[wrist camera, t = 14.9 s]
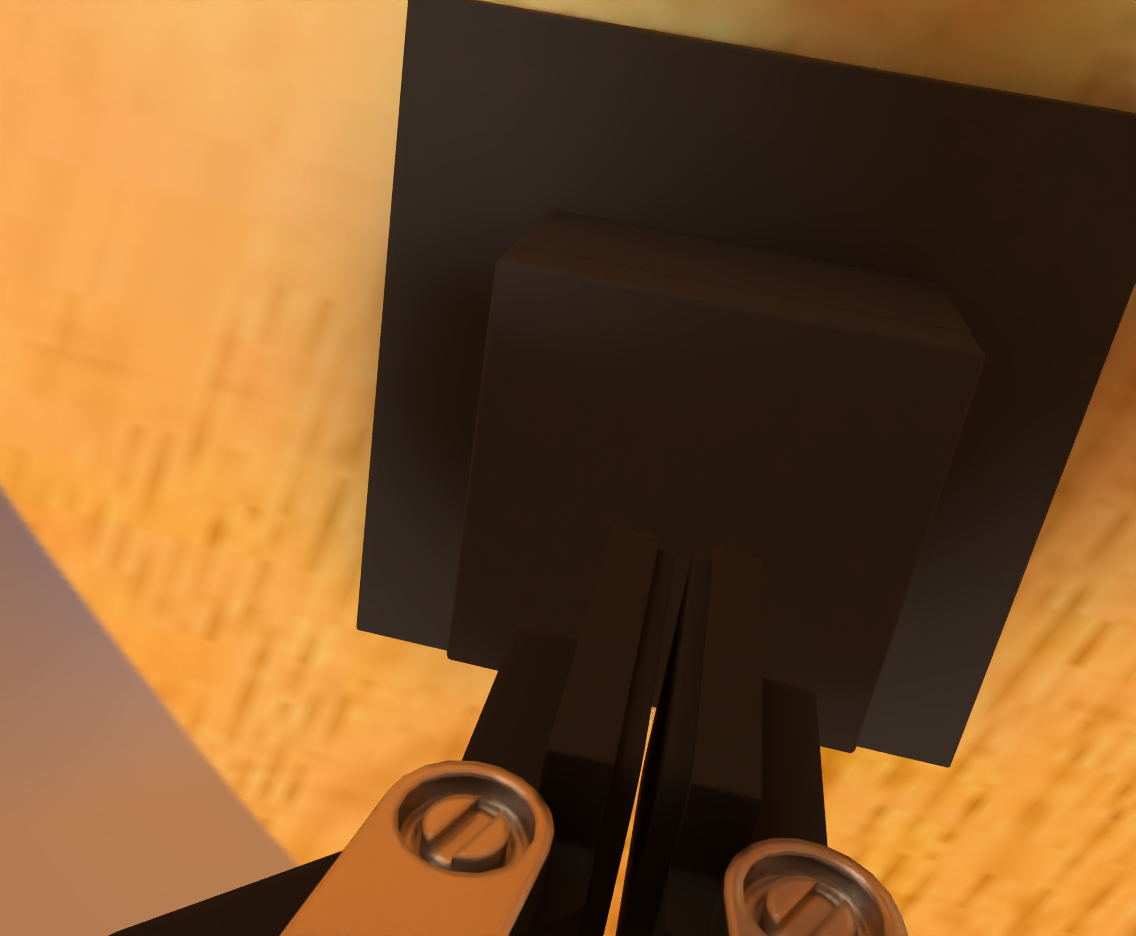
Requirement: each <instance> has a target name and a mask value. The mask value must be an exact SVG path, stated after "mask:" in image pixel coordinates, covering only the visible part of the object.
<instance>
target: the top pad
mask: <svg viewBox="0 0 1136 936" xmlns="http://www.w3.org/2000/svg"><path fill="white" fill-rule="evenodd" d="M984 361H985V355H984V353H983V351H982V350H981V348H980V347H979V345H978V344H977V342H976V340H975V339H974V337H973V336H972V333H971V331H970V330H969V328H968V327H967V325H966V324H965V322H964V321H963V319H962V317H961V316H960V314H959V313H958V311H957V310H956V308H955V306H954V305H953V303H952V302H951V300H950V299H949V297H948V295H947V294H946V292H945V291H944V289H943V288H942V286H941V284H939V283H936V282H931V281H926V280H920V279H915V278H910V277H905V276H899V275H894V274H889V273H884V272H878V271H873V270H868V269H862V268H857V267H852V266H847V265H841V264H836V263H831V262H826V261H820V260H815V259H810V258H805V257H799V256H794V255H789V254H783V253H778V252H773V251H768V250H762V249H757V248H752V247H747V246H741V245H736V244H731V243H726V242H720V241H715V240H710V239H704V238H699V237H694V236H689V235H683V234H678V233H673V232H668V231H662V230H657V229H652V228H647V227H641V226H636V225H631V224H625V223H620V222H615V221H610V220H604V219H599V218H594V217H589V216H583V215H578V214H573V213H568V212H562V211H557V210H553V211H551V212H550V213H549V214H548V215H547V216H546V217H545V218H544V219H542V220H541V221H540V222H539V223H538V224H537V225H536V226H535V227H533V228H532V229H531V230H530V231H529V232H528V233H527V234H526V235H525V236H523V237H522V238H521V239H520V240H519V241H518V242H517V243H516V244H514V246H513V247H512V248H511V249H510V250H509V251H507V252H506V253H505V254H504V255H503V256H502V257H501V258H500V259H498V261H497V263H496V267H495V275H494V283H493V291H492V299H491V307H490V315H489V323H488V331H487V339H486V347H485V355H484V363H483V371H482V379H481V387H480V394H479V402H478V410H477V418H476V426H475V434H474V442H473V450H472V458H471V466H470V474H469V482H468V490H467V498H466V506H465V514H464V521H463V529H462V537H461V545H460V553H459V561H458V569H457V577H456V585H455V593H454V601H453V609H452V617H451V625H450V633H449V641H448V648H447V656H448V658H449V659H451V660H455V661H459V662H463V663H468V664H472V665H476V666H480V667H485V668H489V669H493V670H498V671H499V668H500V666H501V663H502V661H503V658H504V656H505V654H506V651H507V649H508V646H509V644H510V641H511V639H512V636H513V634H514V631H515V629H516V627H517V625H518V624H519V623H525V624H529V625H534V626H538V627H543V628H547V629H552V630H556V631H560V632H565V633H569V634H574V635H578V636H580V635H581V631H582V628H583V624H584V621H585V618H586V614H587V611H588V608H589V604H590V601H591V598H592V594H593V591H594V588H595V584H596V581H597V578H598V574H599V571H600V568H601V564H602V561H603V558H604V554H605V551H606V547H607V544H608V541H609V537H610V534H611V531H612V528H613V527H617V528H622V529H627V530H631V531H636V532H640V533H645V534H650V535H654V536H659V537H660V540H659V545H658V549H659V550H663V551H668V552H672V553H677V554H676V560H675V567H674V573H673V579H672V585H671V591H670V597H669V603H668V609H667V615H666V622H665V628H664V634H663V640H662V646H661V652H660V658H659V664H658V670H657V676H656V683H655V689H654V695H653V701H652V707H655V708H657V704H658V699H659V695H660V691H661V686H662V682H663V678H664V673H665V669H666V665H667V660H668V656H669V652H670V647H671V643H672V639H673V634H674V630H675V626H676V621H677V617H678V613H679V608H680V604H681V600H682V595H683V591H684V587H685V582H686V578H687V574H688V569H689V565H690V561H691V558H692V557H695V558H700V559H705V560H709V561H710V557H711V553H712V550H713V548H714V549H719V550H724V551H728V552H733V553H737V554H742V555H747V556H751V557H756V558H760V559H762V562H763V598H762V677H763V678H767V679H772V680H776V681H781V682H785V683H789V684H794V685H798V686H803V687H807V688H811V689H813V690H814V691H815V696H816V703H817V716H818V729H819V742H820V746H822V747H826V748H830V749H835V750H839V751H843V752H848V753H853V752H854V750H855V749H856V746H857V743H858V740H859V737H860V734H861V731H862V728H863V725H864V722H865V719H866V716H867V713H868V710H869V707H870V704H871V701H872V698H873V695H874V692H875V689H876V686H877V683H878V680H879V677H880V674H881V671H882V668H883V665H884V662H885V659H886V656H887V653H888V650H889V647H890V644H891V641H892V638H893V635H894V632H895V629H896V626H897V623H898V620H899V617H900V614H901V611H902V608H903V605H904V602H905V599H906V596H907V593H908V590H909V587H910V584H911V581H912V578H913V575H914V572H915V569H916V566H917V563H918V559H919V556H920V553H921V550H922V547H923V544H924V541H925V538H926V535H927V532H928V529H929V526H930V523H931V520H932V517H933V514H934V511H935V508H936V505H937V502H938V499H939V496H940V493H941V490H942V487H943V484H944V481H945V478H946V475H947V472H948V469H949V466H950V463H951V460H952V457H953V454H954V451H955V448H956V445H957V442H958V439H959V436H960V433H961V430H962V427H963V424H964V421H965V418H966V415H967V412H968V409H969V406H970V403H971V400H972V397H973V394H974V391H975V388H976V385H977V382H978V379H979V376H980V373H981V370H982V367H983V364H984Z"/></svg>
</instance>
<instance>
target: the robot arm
mask: <svg viewBox="0 0 1136 936" xmlns="http://www.w3.org/2000/svg"><path fill="white" fill-rule="evenodd" d="M659 540H660V537H659V536H654V535H650V534H645V533H640V532H636V531H631V530H627V529H622V528H617V527H613V528H612V531H611V534H610V537H609V541H608V544H607V547H606V551H605V554H604V558H603V561H602V564H601V568H600V571H599V574H598V578H597V581H596V584H595V588H594V591H593V594H592V598H591V601H590V604H589V608H588V611H587V614H586V618H585V621H584V624H583V628H582V631H581V635H580V636H578V635H574V634H569V633H565V632H560V631H556V630H552V629H547V628H543V627H538V626H534V625H529V624H525V623H519V624H518V625H517V627H516V629H515V631H514V634H513V636H512V639H511V641H510V644H509V646H508V649H507V651H506V654H505V656H504V658H503V661H502V663H501V666H500V668H499V671H498V673H497V676H496V678H495V680H494V683H493V685H492V688H491V690H490V693H489V695H488V698H487V700H486V702H485V705H484V707H483V710H482V712H481V715H480V717H479V720H478V722H477V725H476V727H475V729H474V732H473V734H472V737H471V739H470V742H469V744H468V747H467V749H466V751H465V754H464V756H463V759H462V761H445V762H440V763H435V764H430V765H425V766H423V767H421V768H419V769H417V770H415V771H412V772H410V773H408V774H406V775H404V776H403V777H402V778H401V779H400V780H399V781H398V782H397V783H395V784H394V785H393V786H392V787H391V788H390V789H389V790H388V791H387V793H386V794H385V795H384V797H383V798H382V799H381V801H380V802H379V803H378V805H377V806H376V807H375V809H374V810H373V811H372V813H371V814H370V815H369V817H368V818H367V819H366V821H365V822H364V823H363V825H362V826H361V827H360V829H359V830H358V831H357V833H356V834H355V835H354V837H353V838H352V839H351V841H350V842H349V843H348V845H347V846H346V847H345V849H344V850H343V851H340V852H338V853H335V854H332V855H329V856H326V857H324V858H321V859H318V860H315V861H313V862H310V863H307V864H304V865H301V866H299V867H296V868H293V869H291V870H288V871H285V872H282V873H279V874H277V875H273V876H271V877H268V878H265V879H262V880H260V881H257V882H254V883H251V884H248V885H246V886H243V887H240V888H237V889H235V890H232V891H229V892H226V893H223V894H220V895H218V896H215V897H212V898H210V899H207V900H204V901H201V902H198V903H196V904H193V905H190V906H187V907H184V908H182V909H179V910H176V911H173V912H170V913H167V914H165V915H162V916H159V917H156V918H154V919H151V920H148V921H145V922H143V923H140V924H137V925H134V926H131V927H128V928H126V929H123V930H120V931H118V932H115V933H113V934H111V935H109V936H603V935H604V931H605V926H606V922H607V918H608V913H609V909H610V905H611V900H612V896H613V892H614V887H615V883H616V878H617V874H618V870H619V865H620V861H621V857H622V852H623V848H624V844H625V839H626V835H627V831H628V826H629V822H630V818H631V813H632V809H633V805H634V800H635V796H636V791H637V786H638V781H639V776H640V771H641V766H642V761H643V755H644V750H645V744H646V738H647V731H648V725H649V719H650V713H651V707H652V701H653V695H654V689H655V683H656V676H657V670H658V664H659V658H660V652H661V646H662V640H663V634H664V628H665V622H666V615H667V609H668V603H669V597H670V591H671V585H672V579H673V573H674V567H675V560H676V554H677V553H672V552H668V551H663V550H659V549H658V545H659ZM762 598H763V562H762V559H760V558H756V557H751V556H747V555H742V554H737V553H733V552H728V551H724V550H719V549H714V548H713V550H712V553H711V557H710V561H709V560H705V559H700V558H695V557H692V558H691V561H690V565H689V569H688V574H687V578H686V582H685V587H684V591H683V595H682V600H681V604H680V608H679V613H678V617H677V621H676V626H675V630H674V634H673V639H672V643H671V647H670V652H669V656H668V660H667V665H666V669H665V673H664V678H663V682H662V686H661V691H660V695H659V699H658V704H657V708H656V712H655V717H654V721H653V725H652V730H651V734H650V738H649V743H648V747H647V752H646V756H645V761H644V766H643V771H642V776H641V782H640V788H639V794H638V800H637V806H636V813H635V819H634V825H633V831H632V837H631V843H630V850H629V856H628V862H627V868H626V874H625V880H624V887H623V893H622V899H621V905H620V911H619V917H618V924H617V930H616V936H908V933H907V930H906V927H905V924H904V921H903V918H902V915H901V914H900V912H899V910H898V908H897V906H896V904H895V902H894V900H893V898H892V896H891V894H890V893H889V892H888V891H887V890H886V889H885V887H884V886H883V885H882V884H881V883H880V882H879V881H878V880H877V878H876V877H875V876H874V875H873V874H872V873H871V872H869V871H868V870H866V869H865V868H864V867H862V866H861V865H860V864H858V863H857V862H856V861H854V860H853V859H851V858H850V857H848V856H846V855H844V854H842V853H840V852H838V851H836V850H833V849H831V848H829V847H828V846H827V833H826V820H825V807H824V794H823V781H822V768H821V755H820V742H819V729H818V716H817V703H816V696H815V691H814V690H813V689H811V688H807V687H803V686H798V685H794V684H789V683H785V682H781V681H776V680H772V679H767V678H763V677H762Z"/></svg>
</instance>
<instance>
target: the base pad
mask: <svg viewBox="0 0 1136 936" xmlns="http://www.w3.org/2000/svg"><path fill="white" fill-rule="evenodd" d="M553 210H557V211H562V212H568V213H573V214H578V215H583V216H589V217H594V218H599V219H604V220H610V221H615V222H620V223H625V224H631V225H636V226H641V227H647V228H652V229H657V230H662V231H668V232H673V233H678V234H683V235H689V236H694V237H699V238H704V239H710V240H715V241H720V242H726V243H731V244H736V245H741V246H747V247H752V248H757V249H762V250H768V251H773V252H778V253H783V254H789V255H794V256H799V257H805V258H810V259H815V260H820V261H826V262H831V263H836V264H841V265H847V266H852V267H857V268H862V269H868V270H873V271H878V272H884V273H889V274H894V275H899V276H905V277H910V278H915V279H920V280H926V281H931V282H936V283H939V284H941V286H942V288H943V289H944V291H945V292H946V294H947V295H948V297H949V299H950V300H951V302H952V303H953V305H954V306H955V308H956V310H957V311H958V313H959V314H960V316H961V317H962V319H963V321H964V322H965V324H966V325H967V327H968V328H969V330H970V331H971V333H972V336H973V337H974V339H975V340H976V342H977V344H978V345H979V347H980V348H981V350H982V351H983V353H984V355H985V361H984V364H983V367H982V370H981V373H980V376H979V379H978V382H977V385H976V388H975V391H974V394H973V397H972V400H971V403H970V406H969V409H968V412H967V415H966V418H965V421H964V424H963V427H962V430H961V433H960V436H959V439H958V442H957V445H956V448H955V451H954V454H953V457H952V460H951V463H950V466H949V469H948V472H947V475H946V478H945V481H944V484H943V487H942V490H941V493H940V496H939V499H938V502H937V505H936V508H935V511H934V514H933V517H932V520H931V523H930V526H929V529H928V532H927V535H926V538H925V541H924V544H923V547H922V550H921V553H920V556H919V559H918V563H917V566H916V569H915V572H914V575H913V578H912V581H911V584H910V587H909V590H908V593H907V596H906V599H905V602H904V605H903V608H902V611H901V614H900V617H899V620H898V623H897V626H896V629H895V632H894V635H893V638H892V641H891V644H890V647H889V650H888V653H887V656H886V659H885V662H884V665H883V668H882V671H881V674H880V677H879V680H878V683H877V686H876V689H875V692H874V695H873V698H872V701H871V704H870V707H869V710H868V713H867V716H866V719H865V722H864V725H863V728H862V731H861V734H860V737H859V740H858V743H857V746H858V747H862V748H866V749H871V750H875V751H879V752H884V753H888V754H892V755H896V756H901V757H905V758H909V759H913V760H918V761H922V762H926V763H931V764H935V765H939V766H943V767H950V765H951V763H952V760H953V758H954V755H955V752H956V750H957V747H958V745H959V742H960V739H961V737H962V734H963V732H964V729H965V726H966V724H967V721H968V718H969V716H970V713H971V711H972V708H973V705H974V703H975V700H976V698H977V695H978V692H979V690H980V687H981V685H982V682H983V679H984V677H985V674H986V672H987V669H988V666H989V664H990V661H991V658H992V656H993V653H994V651H995V648H996V645H997V643H998V640H999V638H1000V635H1001V632H1002V630H1003V627H1004V625H1005V622H1006V619H1007V617H1008V614H1009V611H1010V609H1011V606H1012V604H1013V601H1014V598H1015V596H1016V593H1017V591H1018V588H1019V585H1020V583H1021V580H1022V578H1023V575H1024V572H1025V570H1026V567H1027V565H1028V562H1029V559H1030V557H1031V554H1032V551H1033V549H1034V546H1035V544H1036V541H1037V538H1038V536H1039V533H1040V531H1041V528H1042V525H1043V523H1044V520H1045V518H1046V515H1047V512H1048V510H1049V507H1050V504H1051V502H1052V499H1053V497H1054V494H1055V491H1056V489H1057V486H1058V484H1059V481H1060V478H1061V476H1062V473H1063V471H1064V468H1065V465H1066V463H1067V460H1068V458H1069V455H1070V452H1071V450H1072V447H1073V444H1074V442H1075V439H1076V437H1077V434H1078V431H1079V429H1080V426H1081V424H1082V421H1083V418H1084V416H1085V413H1086V411H1087V408H1088V405H1089V403H1090V400H1091V398H1092V395H1093V392H1094V390H1095V387H1096V384H1097V382H1098V379H1099V377H1100V374H1101V371H1102V369H1103V366H1104V364H1105V361H1106V358H1107V356H1108V353H1109V351H1110V348H1111V345H1112V343H1113V340H1114V337H1115V335H1116V332H1117V330H1118V327H1119V324H1120V322H1121V319H1122V317H1123V314H1124V311H1125V309H1126V306H1127V304H1128V301H1129V298H1130V296H1131V293H1132V291H1133V288H1134V285H1135V283H1136V113H1131V112H1125V111H1119V110H1113V109H1107V108H1102V107H1096V106H1090V105H1084V104H1078V103H1072V102H1067V101H1061V100H1055V99H1049V98H1043V97H1037V96H1032V95H1026V94H1020V93H1014V92H1008V91H1002V90H997V89H991V88H985V87H979V86H973V85H967V84H962V83H956V82H950V81H944V80H938V79H932V78H927V77H921V76H915V75H909V74H903V73H898V72H892V71H886V70H880V69H874V68H868V67H863V66H857V65H851V64H845V63H839V62H833V61H828V60H822V59H816V58H810V57H804V56H798V55H793V54H787V53H781V52H775V51H769V50H763V49H758V48H752V47H746V46H740V45H734V44H728V43H723V42H717V41H711V40H705V39H699V38H693V37H688V36H682V35H676V34H670V33H664V32H658V31H653V30H647V29H641V28H635V27H629V26H623V25H618V24H612V23H606V22H600V21H594V20H588V19H583V18H577V17H571V16H565V15H559V14H553V13H548V12H542V11H536V10H530V9H524V8H518V7H513V6H507V5H501V4H495V3H489V2H483V1H478V0H408V9H407V21H406V33H405V45H404V57H403V69H402V82H401V94H400V106H399V118H398V130H397V142H396V154H395V166H394V179H393V191H392V203H391V215H390V227H389V239H388V251H387V263H386V276H385V288H384V300H383V312H382V324H381V336H380V348H379V360H378V373H377V385H376V397H375V409H374V421H373V433H372V445H371V457H370V470H369V482H368V494H367V506H366V518H365V530H364V542H363V554H362V567H361V579H360V591H359V603H358V615H357V629H358V630H361V631H365V632H370V633H374V634H378V635H382V636H387V637H391V638H395V639H400V640H404V641H408V642H412V643H417V644H421V645H425V646H430V647H434V648H438V649H442V650H447V648H448V641H449V633H450V625H451V617H452V609H453V601H454V593H455V585H456V577H457V569H458V561H459V553H460V545H461V537H462V529H463V521H464V514H465V506H466V498H467V490H468V482H469V474H470V466H471V458H472V450H473V442H474V434H475V426H476V418H477V410H478V402H479V394H480V387H481V379H482V371H483V363H484V355H485V347H486V339H487V331H488V323H489V315H490V307H491V299H492V291H493V283H494V275H495V267H496V263H497V261H498V259H500V258H501V257H502V256H503V255H504V254H505V253H506V252H507V251H509V250H510V249H511V248H512V247H513V246H514V244H516V243H517V242H518V241H519V240H520V239H521V238H522V237H523V236H525V235H526V234H527V233H528V232H529V231H530V230H531V229H532V228H533V227H535V226H536V225H537V224H538V223H539V222H540V221H541V220H542V219H544V218H545V217H546V216H547V215H548V214H549V213H550V212H551V211H553Z"/></svg>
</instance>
